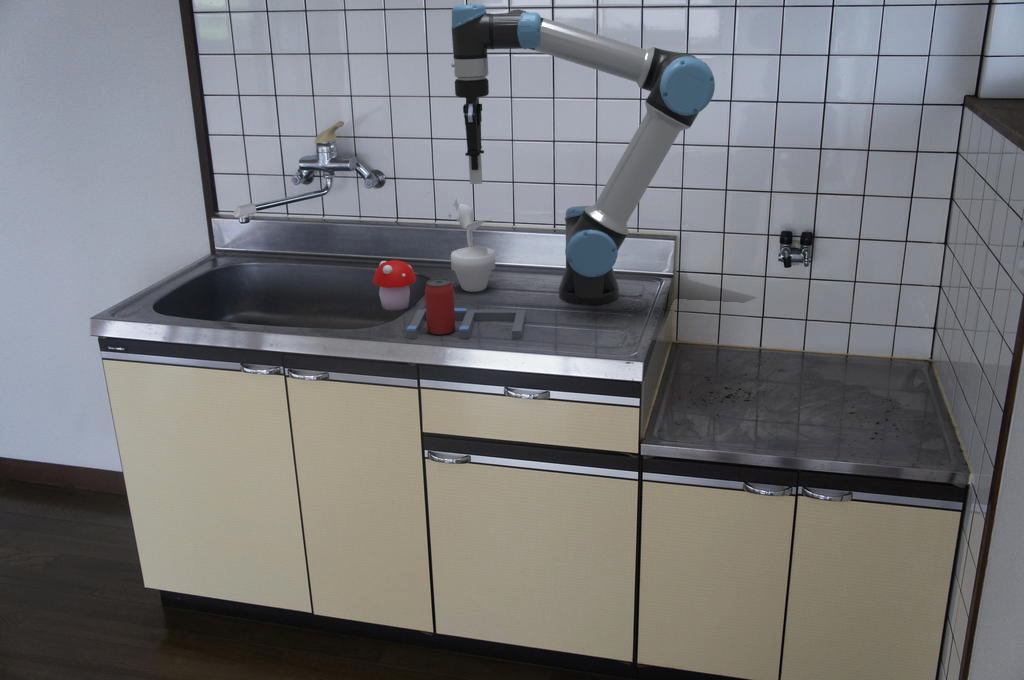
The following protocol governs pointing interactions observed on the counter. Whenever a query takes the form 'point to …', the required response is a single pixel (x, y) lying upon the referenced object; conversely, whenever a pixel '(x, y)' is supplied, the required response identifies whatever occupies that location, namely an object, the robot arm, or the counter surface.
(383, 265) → the mushroom
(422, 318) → the duct comb
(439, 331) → the beer can
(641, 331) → the counter surface
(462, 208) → the potted plant
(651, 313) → the counter surface
